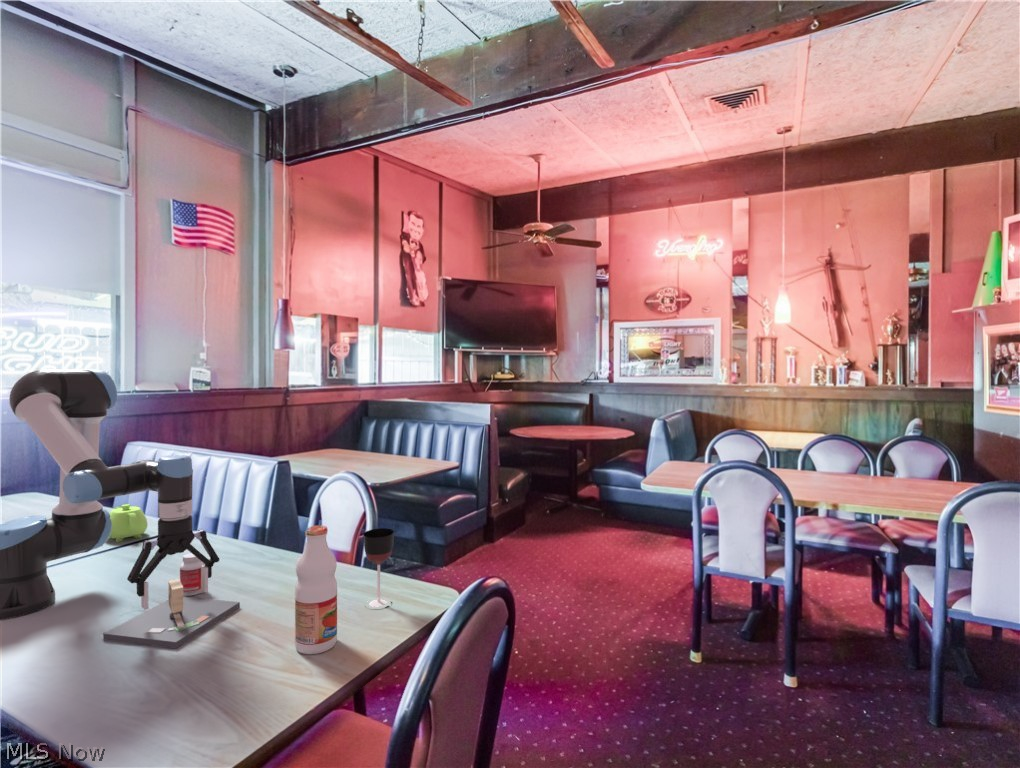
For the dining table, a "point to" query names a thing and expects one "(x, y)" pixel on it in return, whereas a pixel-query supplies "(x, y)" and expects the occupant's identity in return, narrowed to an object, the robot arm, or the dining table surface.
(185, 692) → the dining table surface
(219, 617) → the dial board
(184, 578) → the pill bottle
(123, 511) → the teapot
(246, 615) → the dining table surface
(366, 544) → the wineglass
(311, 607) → the fruit juice
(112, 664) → the dining table surface
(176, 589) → the beige boxy piece
